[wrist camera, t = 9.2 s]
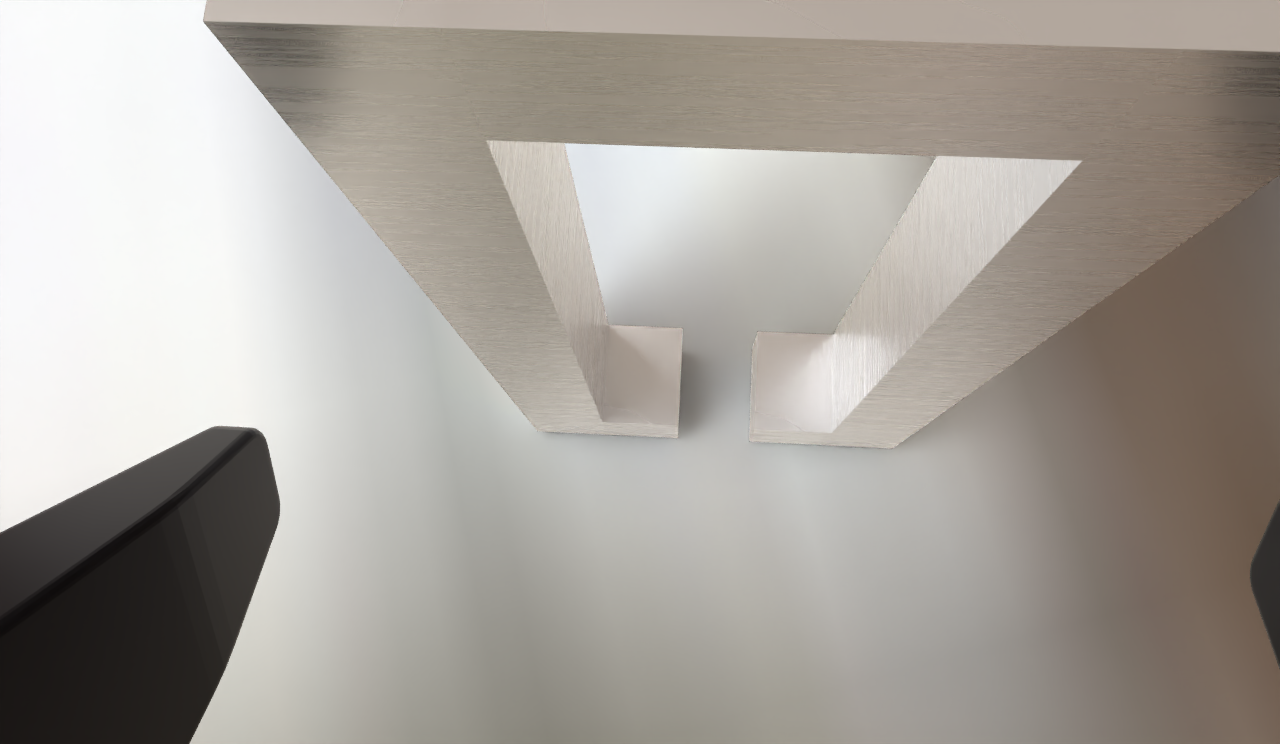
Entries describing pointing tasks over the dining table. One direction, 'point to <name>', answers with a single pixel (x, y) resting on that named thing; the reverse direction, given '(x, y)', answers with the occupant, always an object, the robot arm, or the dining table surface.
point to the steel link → (789, 121)
